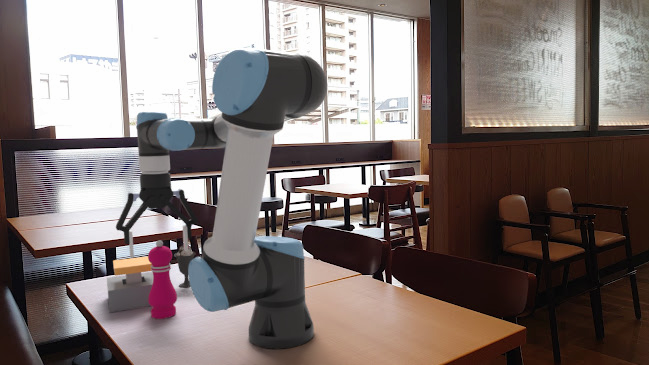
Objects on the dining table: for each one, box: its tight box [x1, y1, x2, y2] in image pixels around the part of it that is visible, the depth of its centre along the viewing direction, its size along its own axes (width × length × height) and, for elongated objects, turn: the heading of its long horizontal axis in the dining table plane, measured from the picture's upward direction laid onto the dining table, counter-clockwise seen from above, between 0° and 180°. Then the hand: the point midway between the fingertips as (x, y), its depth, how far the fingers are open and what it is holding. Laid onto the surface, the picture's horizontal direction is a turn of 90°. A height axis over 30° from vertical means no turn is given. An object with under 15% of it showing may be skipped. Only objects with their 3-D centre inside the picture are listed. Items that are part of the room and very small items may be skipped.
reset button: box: [112, 255, 152, 284], centre depth 145 cm, size 10×10×7 cm
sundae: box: [173, 238, 197, 288], centre depth 159 cm, size 7×7×15 cm
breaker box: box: [106, 271, 153, 313], centre depth 146 cm, size 14×14×6 cm
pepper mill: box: [148, 240, 178, 320], centre depth 133 cm, size 7×7×20 cm
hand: (159, 253), depth 132 cm, fingers open, 13 cm apart
